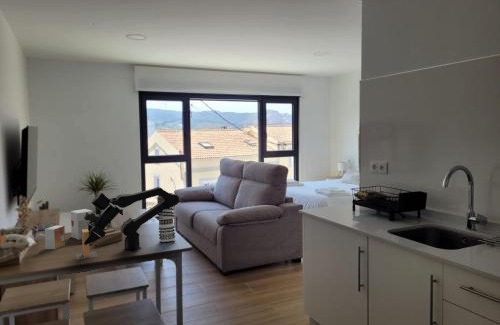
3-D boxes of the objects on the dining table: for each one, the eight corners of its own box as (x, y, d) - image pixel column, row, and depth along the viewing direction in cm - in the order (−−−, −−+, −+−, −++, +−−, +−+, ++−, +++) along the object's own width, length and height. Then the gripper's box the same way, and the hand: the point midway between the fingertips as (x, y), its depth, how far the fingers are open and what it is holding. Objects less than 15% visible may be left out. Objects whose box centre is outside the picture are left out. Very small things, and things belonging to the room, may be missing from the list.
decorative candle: (155, 242, 198) (152, 194, 199) (163, 239, 207) (160, 194, 208) (171, 241, 196) (167, 193, 197) (178, 238, 205) (175, 192, 206)
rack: (122, 240, 204) (122, 231, 204) (99, 246, 193) (98, 237, 192) (105, 235, 213) (104, 227, 213) (81, 241, 202) (81, 232, 202)
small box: (54, 250, 188) (53, 229, 187) (45, 249, 189) (44, 228, 188) (65, 245, 196) (64, 225, 195) (56, 244, 197) (55, 225, 196)
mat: (95, 252, 184) (95, 251, 184) (97, 257, 176) (97, 256, 176) (75, 255, 180) (75, 254, 180) (76, 260, 172) (76, 259, 172)
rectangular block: (88, 253, 181) (87, 228, 180) (89, 256, 176) (88, 231, 175) (83, 254, 180) (81, 229, 179) (84, 257, 175) (83, 232, 174)
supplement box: (71, 237, 212) (69, 210, 210) (86, 233, 218) (85, 208, 217) (77, 240, 206) (76, 213, 204) (93, 236, 212) (92, 210, 211)
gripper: (92, 202, 186) (68, 227, 182) (96, 209, 170) (70, 236, 166) (109, 216, 191) (86, 240, 186) (115, 224, 174) (90, 251, 170)
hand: (83, 241), depth 177 cm, fingers open, 9 cm apart
